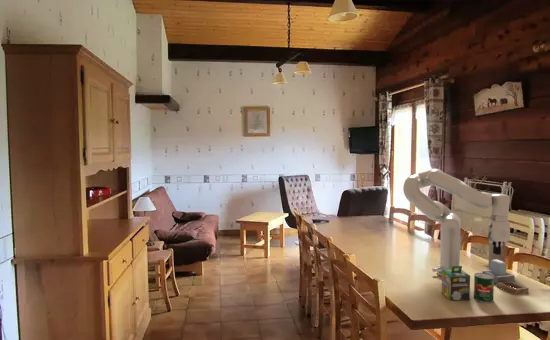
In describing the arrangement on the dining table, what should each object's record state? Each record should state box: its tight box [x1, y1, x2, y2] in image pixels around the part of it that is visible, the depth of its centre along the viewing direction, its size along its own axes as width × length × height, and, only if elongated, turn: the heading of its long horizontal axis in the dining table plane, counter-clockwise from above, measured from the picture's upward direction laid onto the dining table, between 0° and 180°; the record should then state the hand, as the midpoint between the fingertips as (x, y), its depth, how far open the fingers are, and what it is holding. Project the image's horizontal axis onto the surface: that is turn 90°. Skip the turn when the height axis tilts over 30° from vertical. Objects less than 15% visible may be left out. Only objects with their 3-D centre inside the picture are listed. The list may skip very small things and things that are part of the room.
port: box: [481, 269, 515, 285], centre depth 201 cm, size 10×10×4 cm
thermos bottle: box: [487, 242, 507, 270], centre depth 218 cm, size 8×8×28 cm
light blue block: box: [491, 259, 507, 276], centre depth 201 cm, size 4×6×10 cm, turn 14°
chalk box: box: [441, 265, 471, 301], centre depth 181 cm, size 9×9×15 cm
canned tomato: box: [473, 272, 495, 304], centre depth 178 cm, size 8×8×11 cm
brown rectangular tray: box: [496, 281, 529, 295], centre depth 189 cm, size 8×10×2 cm
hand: (496, 253), depth 201 cm, fingers closed
